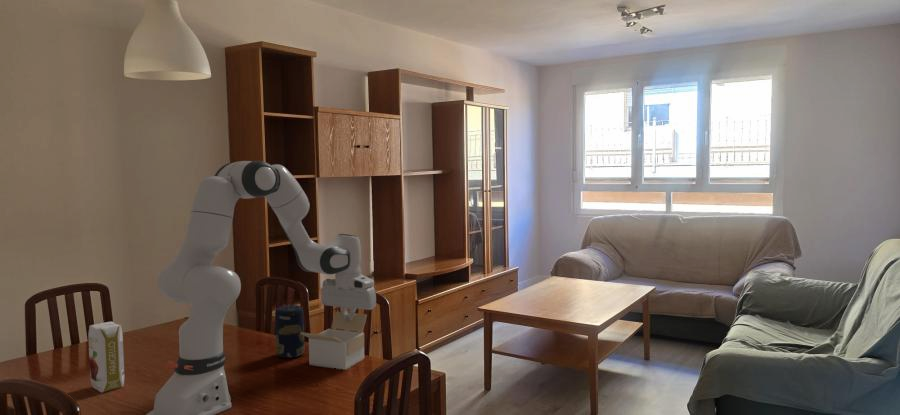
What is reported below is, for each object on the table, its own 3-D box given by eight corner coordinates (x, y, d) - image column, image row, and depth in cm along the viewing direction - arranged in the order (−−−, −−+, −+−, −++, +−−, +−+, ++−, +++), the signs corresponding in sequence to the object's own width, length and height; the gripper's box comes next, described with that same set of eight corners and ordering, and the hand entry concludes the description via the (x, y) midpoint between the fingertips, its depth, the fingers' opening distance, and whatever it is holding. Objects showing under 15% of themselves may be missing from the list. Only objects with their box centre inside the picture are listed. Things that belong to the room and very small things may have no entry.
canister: (308, 351, 207) (307, 301, 205) (299, 360, 197) (297, 308, 196) (282, 350, 208) (281, 301, 206) (271, 359, 198) (270, 307, 197)
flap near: (300, 332, 186) (300, 333, 186) (333, 336, 182) (333, 337, 182) (310, 337, 191) (310, 338, 191) (342, 341, 187) (342, 342, 187)
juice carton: (115, 380, 179) (112, 319, 178) (127, 386, 174) (124, 324, 173) (88, 387, 174) (85, 325, 172) (99, 394, 168) (96, 330, 167)
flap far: (366, 314, 201) (367, 314, 201) (335, 311, 205) (336, 311, 206) (362, 331, 198) (362, 331, 199) (331, 327, 203) (331, 328, 203)
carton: (346, 370, 187) (346, 343, 187) (308, 364, 193) (307, 338, 192) (365, 358, 198) (365, 332, 198) (328, 353, 204) (327, 328, 203)
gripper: (317, 279, 201) (317, 318, 202) (369, 284, 194) (369, 324, 195) (327, 276, 207) (327, 315, 208) (378, 281, 200) (378, 320, 201)
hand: (348, 319), depth 201 cm, fingers closed, pressing on flap far
